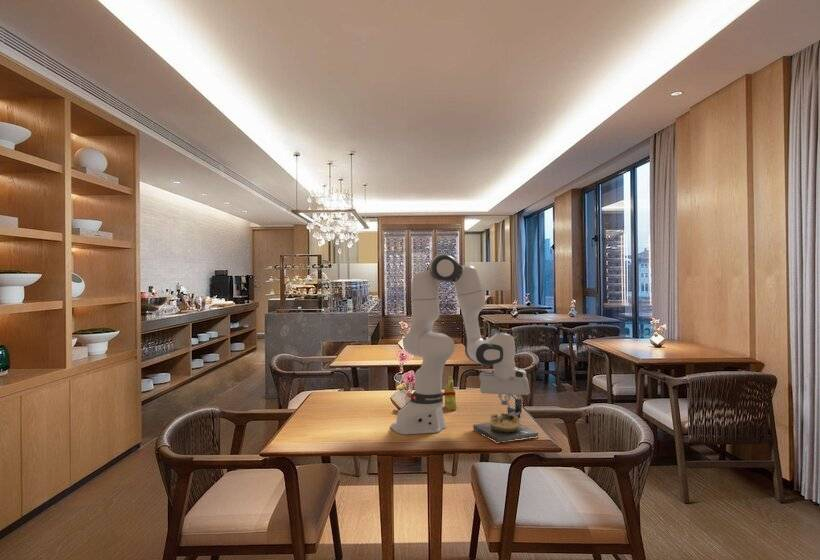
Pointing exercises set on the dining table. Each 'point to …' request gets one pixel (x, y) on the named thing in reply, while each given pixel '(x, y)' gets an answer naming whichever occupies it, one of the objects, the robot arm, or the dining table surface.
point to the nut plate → (504, 436)
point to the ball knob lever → (507, 419)
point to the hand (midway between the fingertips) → (504, 404)
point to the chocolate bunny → (450, 395)
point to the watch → (511, 409)
